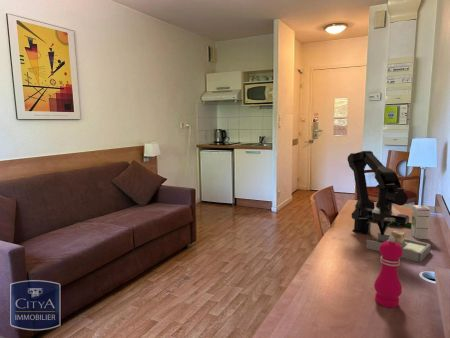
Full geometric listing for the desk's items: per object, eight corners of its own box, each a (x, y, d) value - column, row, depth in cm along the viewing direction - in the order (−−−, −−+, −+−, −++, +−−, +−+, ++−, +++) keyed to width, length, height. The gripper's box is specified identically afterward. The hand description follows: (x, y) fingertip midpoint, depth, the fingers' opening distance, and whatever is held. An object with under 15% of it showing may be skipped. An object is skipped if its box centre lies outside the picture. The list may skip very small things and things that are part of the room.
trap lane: (366, 247, 138) (366, 239, 137) (378, 239, 148) (378, 232, 147) (420, 262, 124) (421, 253, 123) (429, 252, 134) (430, 244, 133)
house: (363, 222, 176) (364, 207, 174) (375, 209, 202) (376, 196, 201) (411, 230, 163) (413, 214, 162) (417, 215, 190) (418, 202, 188)
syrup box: (428, 239, 149) (431, 208, 147) (414, 238, 150) (417, 207, 148) (423, 235, 154) (426, 205, 152) (409, 234, 156) (412, 204, 154)
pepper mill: (368, 295, 99) (373, 232, 96) (391, 295, 100) (396, 232, 97) (381, 309, 92) (387, 241, 89) (406, 308, 92) (412, 240, 90)
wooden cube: (390, 241, 138) (391, 232, 138) (393, 239, 141) (394, 230, 141) (400, 244, 136) (401, 234, 135) (403, 241, 138) (404, 232, 138)
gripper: (355, 199, 141) (353, 233, 143) (402, 207, 128) (399, 245, 130) (366, 195, 149) (363, 228, 151) (411, 202, 136) (408, 238, 138)
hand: (382, 234), depth 142 cm, fingers closed
